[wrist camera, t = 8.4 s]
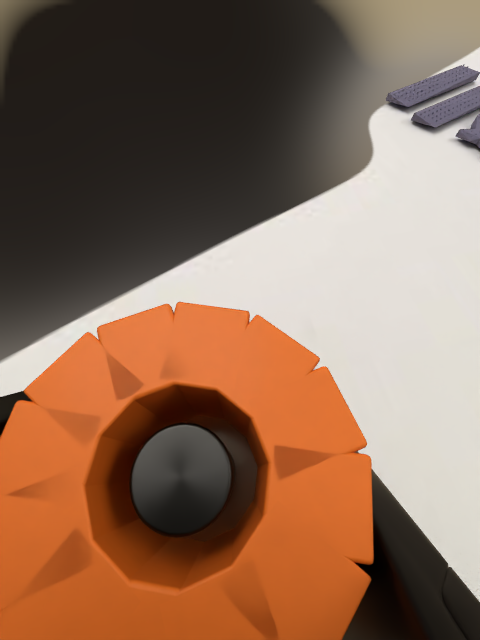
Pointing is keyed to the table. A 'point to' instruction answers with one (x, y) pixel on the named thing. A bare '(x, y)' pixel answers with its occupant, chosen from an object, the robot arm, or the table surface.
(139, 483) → the stand
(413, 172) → the table surface
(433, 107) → the signage
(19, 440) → the ring
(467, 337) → the table surface
